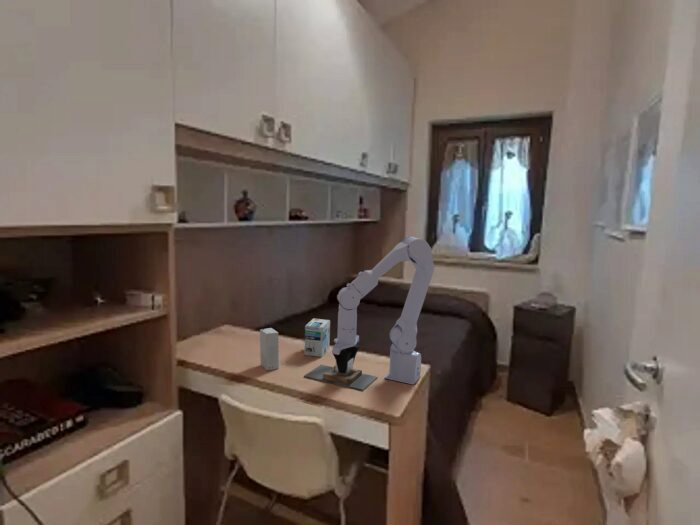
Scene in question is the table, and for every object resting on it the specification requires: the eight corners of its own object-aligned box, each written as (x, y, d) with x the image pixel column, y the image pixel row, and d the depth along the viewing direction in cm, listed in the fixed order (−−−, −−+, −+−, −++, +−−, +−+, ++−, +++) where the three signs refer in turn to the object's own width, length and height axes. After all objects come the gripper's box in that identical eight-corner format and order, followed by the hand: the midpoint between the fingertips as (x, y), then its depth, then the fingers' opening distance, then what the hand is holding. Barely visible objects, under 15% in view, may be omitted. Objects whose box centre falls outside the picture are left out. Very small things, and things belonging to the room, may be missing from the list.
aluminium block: (352, 376, 141) (353, 357, 140) (346, 380, 137) (347, 361, 136) (340, 373, 142) (341, 355, 141) (335, 377, 139) (336, 358, 138)
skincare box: (279, 368, 145) (280, 332, 143) (266, 371, 143) (266, 334, 141) (271, 362, 150) (272, 327, 149) (259, 364, 148) (259, 328, 146)
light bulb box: (322, 357, 157) (323, 327, 156) (303, 355, 158) (304, 325, 157) (329, 347, 167) (330, 319, 166) (312, 346, 169) (313, 317, 167)
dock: (377, 378, 141) (377, 372, 141) (363, 391, 131) (363, 384, 131) (321, 365, 149) (321, 360, 149) (303, 377, 139) (303, 371, 139)
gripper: (345, 319, 145) (344, 360, 147) (324, 331, 132) (322, 375, 134) (365, 323, 142) (363, 364, 144) (345, 335, 129) (343, 380, 131)
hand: (345, 370), depth 139 cm, fingers closed on aluminium block, 4 cm apart
